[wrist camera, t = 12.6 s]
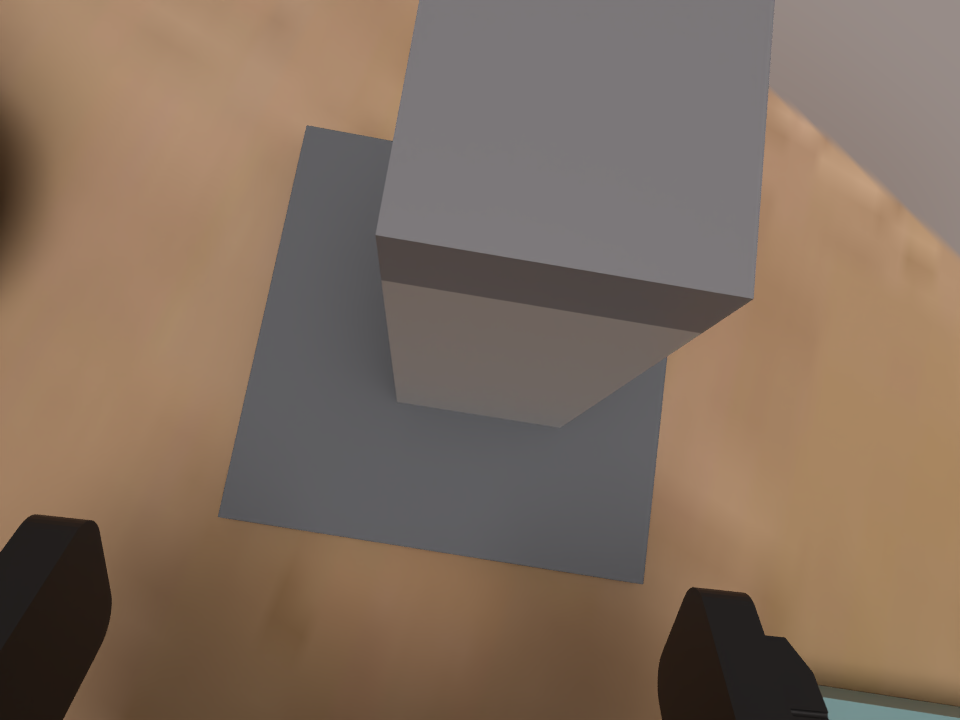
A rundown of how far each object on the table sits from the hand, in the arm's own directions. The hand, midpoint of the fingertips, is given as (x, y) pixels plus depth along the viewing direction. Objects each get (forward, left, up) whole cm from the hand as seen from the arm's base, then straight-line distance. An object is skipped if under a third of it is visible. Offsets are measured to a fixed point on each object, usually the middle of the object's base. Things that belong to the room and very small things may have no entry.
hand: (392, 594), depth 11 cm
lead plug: (+1, +6, -7) cm, 9 cm away
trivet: (+1, +5, -8) cm, 10 cm away
